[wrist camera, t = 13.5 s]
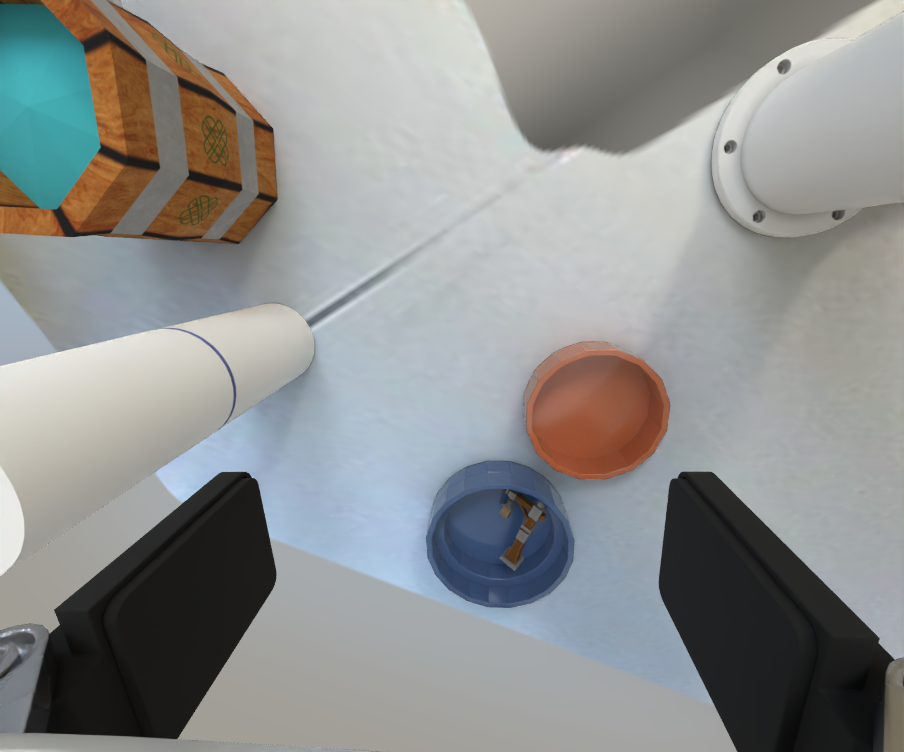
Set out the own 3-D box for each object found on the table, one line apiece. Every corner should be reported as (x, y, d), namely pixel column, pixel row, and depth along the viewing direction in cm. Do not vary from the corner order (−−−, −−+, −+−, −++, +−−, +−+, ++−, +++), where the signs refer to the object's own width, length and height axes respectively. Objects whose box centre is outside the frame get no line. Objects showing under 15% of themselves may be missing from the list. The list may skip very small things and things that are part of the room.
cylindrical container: (318, 381, 39) (49, 590, 15) (243, 379, 39) (-133, 578, 15) (311, 303, 37) (-14, 400, 13) (232, 302, 37) (-221, 394, 13)
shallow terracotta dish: (661, 340, 35) (677, 349, 32) (647, 462, 38) (661, 480, 35) (524, 342, 36) (528, 350, 33) (522, 461, 39) (525, 478, 36)
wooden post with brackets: (512, 473, 39) (554, 502, 37) (488, 532, 43) (525, 561, 41) (503, 481, 38) (546, 512, 36) (478, 541, 42) (516, 572, 39)
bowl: (567, 459, 39) (578, 485, 35) (561, 574, 43) (570, 610, 38) (429, 458, 40) (423, 483, 36) (435, 570, 44) (429, 605, 39)
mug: (308, 215, 35) (183, 188, 20) (172, 270, 37) (-28, 282, 22) (193, -63, 30) (-77, -356, 15) (45, 21, 32) (-313, -168, 18)
